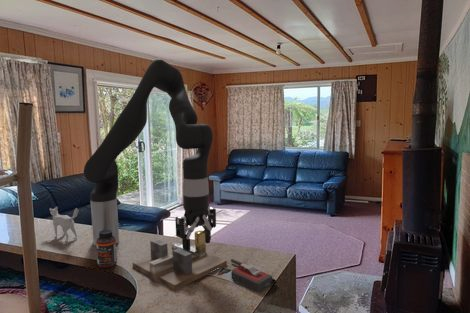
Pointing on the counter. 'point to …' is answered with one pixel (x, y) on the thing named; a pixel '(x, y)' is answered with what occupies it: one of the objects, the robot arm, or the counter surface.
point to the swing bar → (199, 245)
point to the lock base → (178, 277)
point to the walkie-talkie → (251, 276)
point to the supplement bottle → (106, 249)
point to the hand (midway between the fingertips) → (197, 246)
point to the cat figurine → (63, 222)
